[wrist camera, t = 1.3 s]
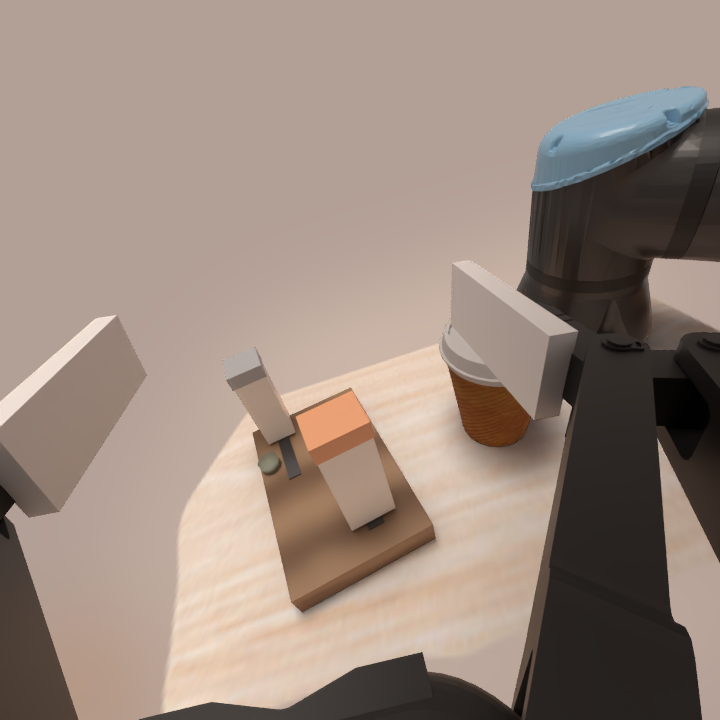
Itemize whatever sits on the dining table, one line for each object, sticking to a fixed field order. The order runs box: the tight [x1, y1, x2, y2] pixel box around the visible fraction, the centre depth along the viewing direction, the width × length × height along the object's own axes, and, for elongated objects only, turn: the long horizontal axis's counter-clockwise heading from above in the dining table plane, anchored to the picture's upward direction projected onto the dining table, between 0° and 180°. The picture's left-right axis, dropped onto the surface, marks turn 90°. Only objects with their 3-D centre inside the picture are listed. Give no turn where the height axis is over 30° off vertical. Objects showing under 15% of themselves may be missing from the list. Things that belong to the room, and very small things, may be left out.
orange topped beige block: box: [296, 391, 396, 531], centre depth 27 cm, size 3×4×11 cm
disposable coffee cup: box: [439, 318, 531, 447], centre depth 34 cm, size 10×10×12 cm
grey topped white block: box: [223, 347, 295, 445], centre depth 36 cm, size 3×3×10 cm
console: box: [253, 388, 435, 612], centre depth 35 cm, size 18×12×4 cm, turn 22°
